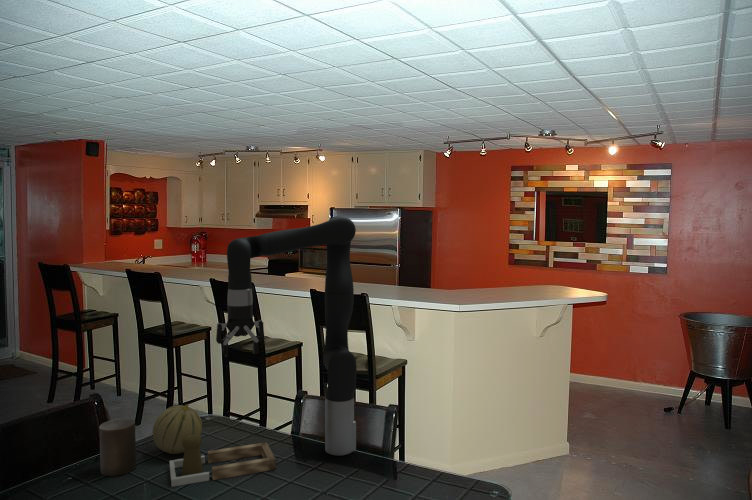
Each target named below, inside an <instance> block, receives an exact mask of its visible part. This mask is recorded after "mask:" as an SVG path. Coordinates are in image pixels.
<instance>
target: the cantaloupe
mask: <svg viewBox="0 0 752 500" xmlns="http://www.w3.org/2000/svg"><path fill="white" fill-rule="evenodd" d="M202 432H203V423H202V419H201V417H200V415H199V413H198V412H197V411H196V410H195V409H194V408H192V407H190V405H189V403H188V404H185V405H179V404H178V405H173V406H169V407H168V408H166V409H165V410H163V411H162V412H161V413H160V415H158V417H157V418H156V420H155V421H154V424H153V428H152V439H153V442H154V444H155V445H156V446H157V448H158V449H159V450H161V451H163V452H164V453H165V452H166V453H167V454H171V455H178V454H184V451H185V448H184V447H183V439H184V438H185V437H186V436H189V435H198V436H200V437H201V436H202Z"/></svg>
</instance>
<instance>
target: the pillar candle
mask: <svg viewBox="0 0 752 500" xmlns="http://www.w3.org/2000/svg"><path fill="white" fill-rule="evenodd" d="M98 429H99V458H100V460H99V461H100V474H101V475H102V476H105V477H114V476H115V477H117V476H122V475H126V474H129V473H131V472H132V471H134V470H135V469H136V468H137V442H136V441H137V439H136V421H135V419H133V418H115V419H110V420H109V421H105V422H102V423H101V424H100V425H99V427H98Z"/></svg>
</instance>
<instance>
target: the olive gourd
mask: <svg viewBox="0 0 752 500" xmlns="http://www.w3.org/2000/svg"><path fill="white" fill-rule="evenodd" d="M201 445H202V437H201V436H198V435H189V436H186V437H185V438H184V439H183V447H184V448H185V451H184V453H183V458H182V459H183V467H181V468H182V469H181V476H186V475H192V474H198V473H204V468H203V467H204V466H203V464H202V460H201V456H202V455H201Z"/></svg>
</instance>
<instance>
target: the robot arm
mask: <svg viewBox="0 0 752 500" xmlns="http://www.w3.org/2000/svg"><path fill="white" fill-rule="evenodd" d="M356 230H357V229H356V225H355V223H354V222H353V220H352V219H351V218H349V217H347V216H344V215H337V216H332V217H331V218H330V219H328V220H327V221H324V222H321V223H318V224H313V225H310V226H304V227H298V228H297V227H296V228H290V229H288V228H287V229H283V230H277V231H272V232H270V231H269V232H266V233H262V234H260V235H252V236H245V237H239V238H235V239H233V240H231V241H230V242H229V243H228V245H227V248H226V259H227V260H226V261H227V269H228V273H227V274H228V275H227V276H228V277H227V295H226V296H227V299H226V300H227V322H226V323H221V322H218V323H217V324H216V336H215V340H216V343H217V344H219V345H222V355H223V356H224V357H225V358H228V357H229V343H230V341H231V340H232V339H233V337H235V338H237V337H246V336H249V337H250V338H251V339H252V354H253V355H257V353H258V352H259V342H261V341H263V340H264V339H265V330H264V321H263V320H261V319H258V320H256V321H254V318H253V317H254V316H253V315H254V314H253V312H254V311H253V310H254V309H253V308H254V307H253V305H254V304H253V303H254V300H253V299H254V298H253V290H252V288H253V287H252V284H253V283H252V280H253V279H252V272H251V259H255V258H258V257H269V256H275V255H280V254H285V253H289V252H293V251H297V250H301V249H306V248H311V247H316V246H326V254H327V255H326V257H327V258H326V271H325V282H324V319H325V321H324V322H325V338H324V339H325V341H324V348H323V360H322V361H323V362H322V363H323V365H324V369H326V371H327V387H326V388H325V392H324V395H325V396H324V400H325V401H324V404H325V405H324V409H325V410H324V411H325V412H324V422H325V423H324V424H325V425H324V440H325V441H324V448H325V449H324V450H325V452H326V453H327V454H329V455H332V456H345V455H349V454H352V453H353V452H356V451H357V421H356V420H355V391H356V389H357V388H356V387H357V360H356V356H355V355H354V354H353V353H352V352H351V351H350V349H349V339H348V338H349V337H348V336H349V334H348V333H349V331H348V330H349V325H350V322H351V318H352V315H353V309H354V301H355V300H354V299H355V298H354V297H355V296H354V294H355V293H354V292H355V290H354V279H353V278H354V277H353V272H352V265H351V246H352V245H351V244H352V240H354V238H355V235H356V232H357V231H356ZM254 327H256V328H257V329H258V336H256V335H255V334H254V333H253V331H252V329H253V328H254ZM225 329H228V332H227V333H226V335H225V336H224V337H223V339H222V334H223V331H224V330H225Z"/></svg>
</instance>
